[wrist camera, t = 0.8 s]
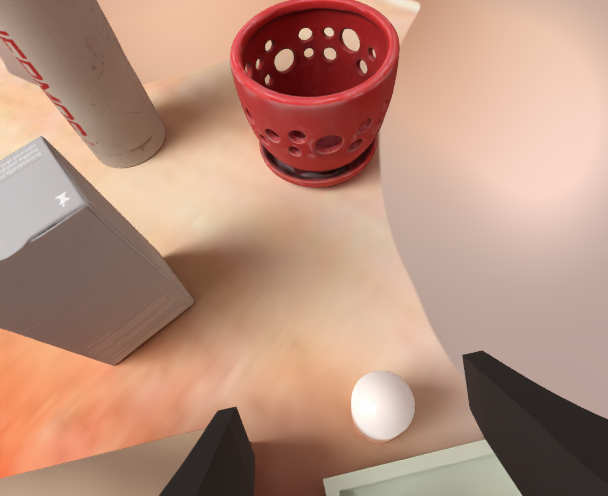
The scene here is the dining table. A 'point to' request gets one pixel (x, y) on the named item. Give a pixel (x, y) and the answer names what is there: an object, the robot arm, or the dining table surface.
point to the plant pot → (316, 88)
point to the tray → (430, 475)
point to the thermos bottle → (84, 76)
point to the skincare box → (76, 262)
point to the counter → (108, 471)
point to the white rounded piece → (381, 406)
